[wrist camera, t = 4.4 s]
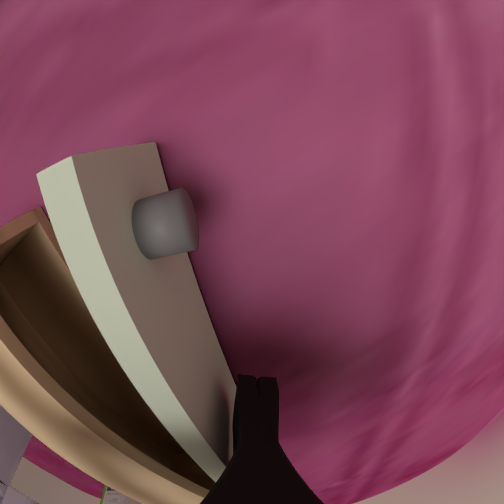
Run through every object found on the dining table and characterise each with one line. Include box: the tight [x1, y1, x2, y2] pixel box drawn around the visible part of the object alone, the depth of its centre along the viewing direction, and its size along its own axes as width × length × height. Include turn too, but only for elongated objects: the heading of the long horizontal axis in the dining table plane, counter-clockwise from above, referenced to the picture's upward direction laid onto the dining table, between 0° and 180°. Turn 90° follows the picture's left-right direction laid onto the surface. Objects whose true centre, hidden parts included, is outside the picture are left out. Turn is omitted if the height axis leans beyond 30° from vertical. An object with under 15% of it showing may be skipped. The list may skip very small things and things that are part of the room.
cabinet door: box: [36, 142, 237, 482], centre depth 10 cm, size 2×18×5 cm, turn 12°
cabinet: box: [0, 206, 216, 504], centre depth 11 cm, size 6×18×6 cm, turn 28°
